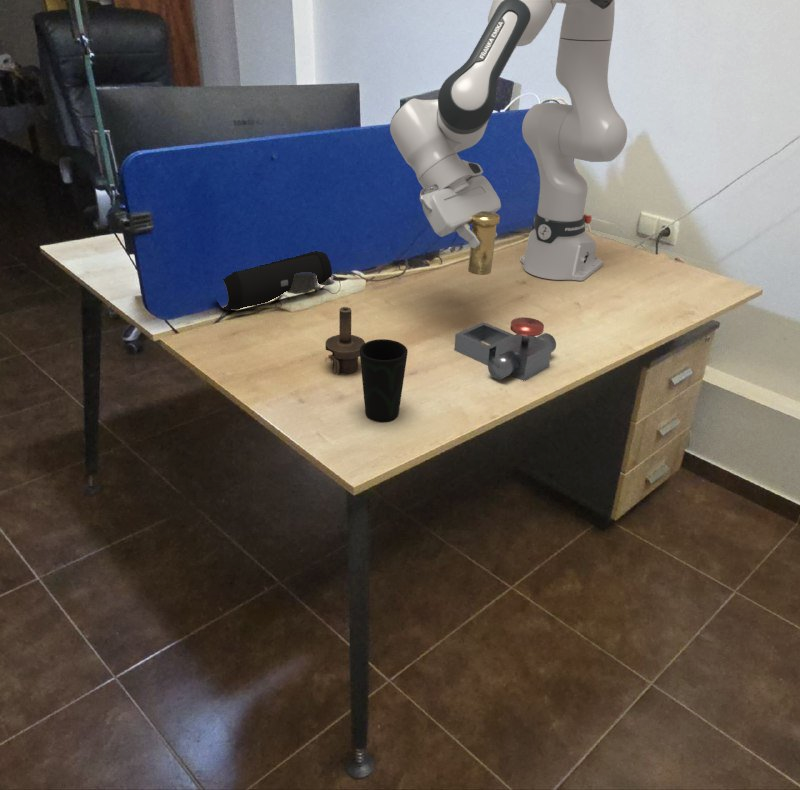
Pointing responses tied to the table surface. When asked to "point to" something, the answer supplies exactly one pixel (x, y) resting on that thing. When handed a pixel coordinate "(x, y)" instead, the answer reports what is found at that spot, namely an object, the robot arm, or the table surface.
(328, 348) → the industrial component
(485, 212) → the pipe stub
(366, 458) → the table surface
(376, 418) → the cup
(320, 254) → the portable speaker
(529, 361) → the valve body
